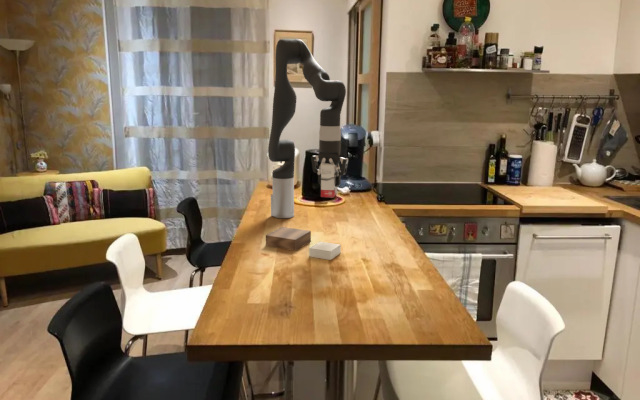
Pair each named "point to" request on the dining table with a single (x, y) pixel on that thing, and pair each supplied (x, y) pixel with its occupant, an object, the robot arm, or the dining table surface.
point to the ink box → (328, 180)
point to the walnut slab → (288, 238)
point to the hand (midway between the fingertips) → (329, 185)
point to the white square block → (324, 250)
